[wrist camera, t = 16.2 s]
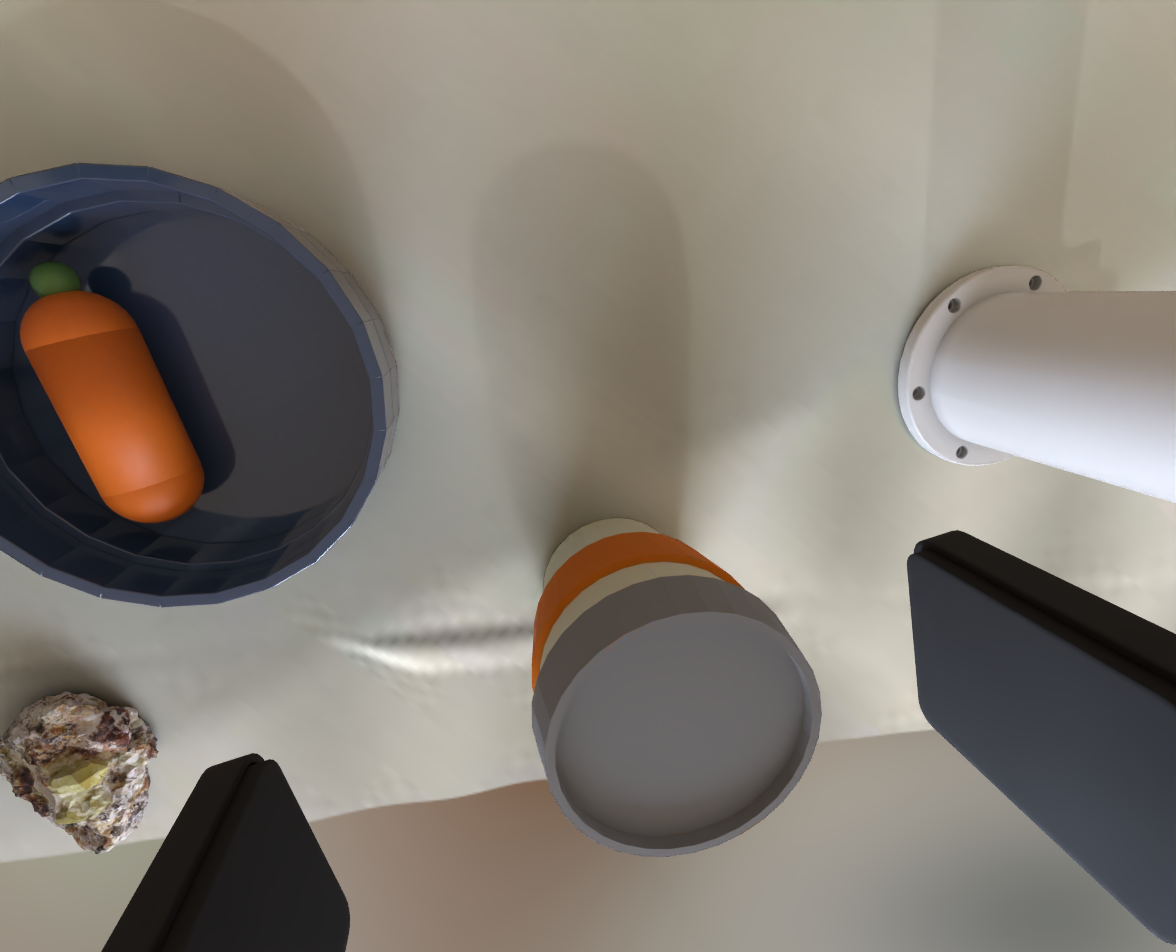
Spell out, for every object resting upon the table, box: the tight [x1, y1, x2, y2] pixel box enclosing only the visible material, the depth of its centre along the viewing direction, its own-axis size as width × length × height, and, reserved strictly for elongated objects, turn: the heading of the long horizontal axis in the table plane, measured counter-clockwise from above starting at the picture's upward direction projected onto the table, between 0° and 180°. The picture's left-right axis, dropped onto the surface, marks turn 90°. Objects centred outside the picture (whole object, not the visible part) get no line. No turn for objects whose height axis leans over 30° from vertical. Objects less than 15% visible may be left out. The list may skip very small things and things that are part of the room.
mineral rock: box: [0, 691, 159, 854], centre depth 36 cm, size 11×4×8 cm
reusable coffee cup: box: [532, 518, 822, 857], centre depth 33 cm, size 13×13×15 cm
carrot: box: [20, 261, 205, 523], centre depth 30 cm, size 13×4×4 cm
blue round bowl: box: [0, 163, 400, 607], centre depth 30 cm, size 19×19×6 cm
